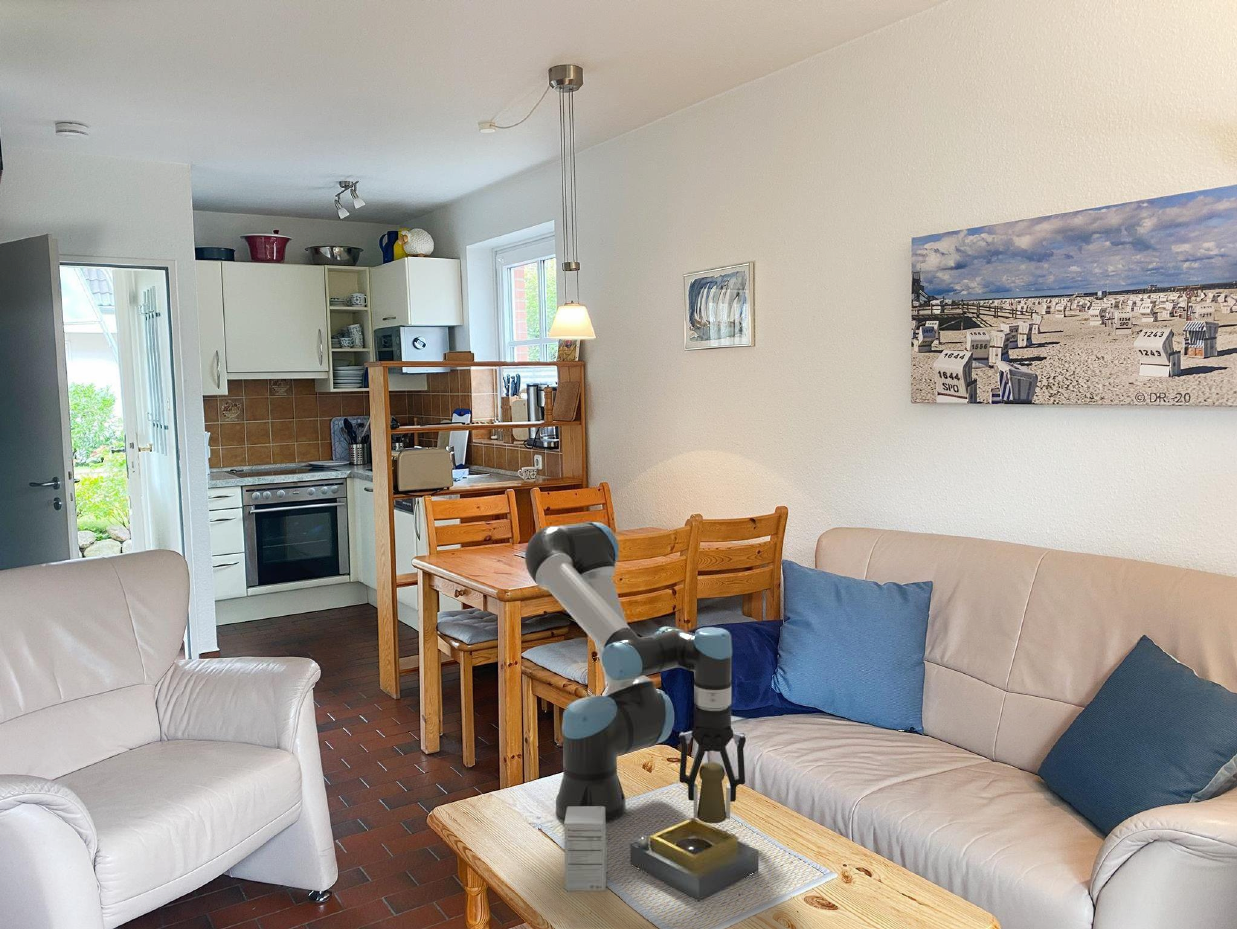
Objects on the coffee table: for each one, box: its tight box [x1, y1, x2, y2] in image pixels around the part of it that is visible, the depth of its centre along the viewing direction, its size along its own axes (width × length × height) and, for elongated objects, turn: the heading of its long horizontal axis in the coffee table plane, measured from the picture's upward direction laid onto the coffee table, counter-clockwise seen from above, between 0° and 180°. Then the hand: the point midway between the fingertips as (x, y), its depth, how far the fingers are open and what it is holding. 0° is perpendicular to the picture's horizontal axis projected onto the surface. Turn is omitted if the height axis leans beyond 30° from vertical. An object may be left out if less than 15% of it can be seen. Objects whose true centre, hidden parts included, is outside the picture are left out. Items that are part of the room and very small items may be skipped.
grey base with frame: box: [629, 817, 760, 903], centre depth 173 cm, size 18×16×6 cm
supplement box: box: [563, 806, 607, 892], centre depth 168 cm, size 7×7×13 cm
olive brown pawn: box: [696, 761, 727, 824], centre depth 188 cm, size 6×6×11 cm
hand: (711, 815), depth 188 cm, fingers closed on olive brown pawn, 6 cm apart
